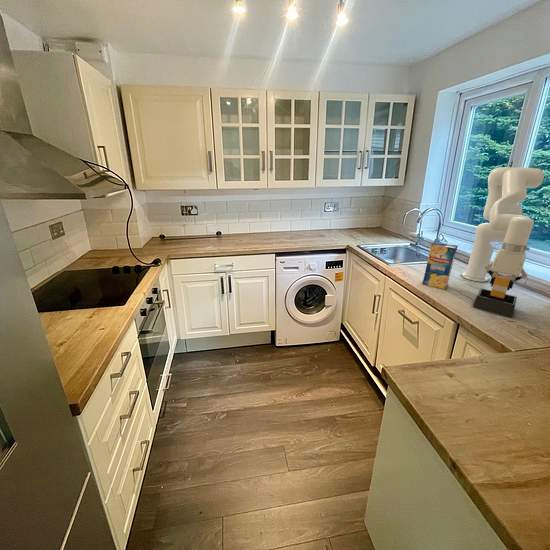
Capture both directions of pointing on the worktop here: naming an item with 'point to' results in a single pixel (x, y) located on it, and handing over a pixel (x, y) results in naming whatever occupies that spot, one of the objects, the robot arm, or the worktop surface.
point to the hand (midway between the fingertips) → (500, 287)
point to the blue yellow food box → (439, 264)
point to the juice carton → (500, 285)
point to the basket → (495, 303)
